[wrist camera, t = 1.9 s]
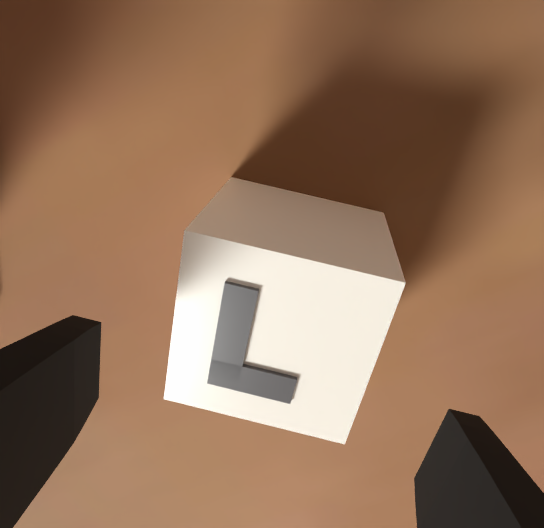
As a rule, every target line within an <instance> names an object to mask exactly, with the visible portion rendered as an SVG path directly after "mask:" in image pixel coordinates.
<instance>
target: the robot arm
mask: <svg viewBox="0 0 544 528" xmlns="http://www.w3.org/2000/svg"><path fill="white" fill-rule="evenodd" d="M100 342H101V322H98V321H94V320H90V319H86V318H82V317H78V316H74V315H72V316H70V317H68V318H65V319H63V320H61V321H58V322H56V323H54V324H52V325H50V326H48V327H46V328H44V329H41V330H39V331H37V332H35V333H33V334H31V335H29V336H27V337H25V338H23V339H21V340H19V341H17V342H14V343H12V344H10V345H8V346H6V347H4V348H2V349H0V528H13V527H14V525H15V524H16V523H17V521H18V520H19V518H20V517H21V516H22V514H23V513H24V512H25V510H26V509H27V507H28V506H29V505H30V503H31V502H32V500H33V499H34V498H35V496H36V495H37V494H38V492H39V491H40V489H41V488H42V487H43V485H44V484H45V482H46V481H47V480H48V478H49V477H50V476H51V474H52V473H53V471H54V470H55V468H56V467H57V466H58V464H59V463H60V461H61V460H62V459H63V457H64V456H65V454H66V453H67V452H68V450H69V449H70V447H71V446H72V444H73V443H74V441H75V440H76V438H77V436H78V434H79V433H80V431H81V429H82V427H83V426H84V424H85V422H86V420H87V418H88V417H89V415H90V413H91V411H92V409H93V407H94V405H95V403H96V402H97V400H98V398H99V371H100ZM414 482H415V502H416V517H417V528H544V493H543V492H542V491H541V489H540V488H539V487H538V486H537V485H536V483H535V482H534V481H533V480H532V478H531V477H530V476H529V475H528V474H527V472H526V471H525V470H524V469H523V467H522V466H521V465H520V464H519V463H518V461H517V460H516V459H515V458H514V456H513V455H512V454H511V453H510V452H509V450H508V449H507V448H506V447H505V446H504V444H503V443H502V442H501V441H500V439H499V438H498V437H497V436H496V435H495V433H494V432H493V431H492V430H491V429H490V428H489V426H488V425H487V424H486V423H485V422H484V421H483V420H482V419H481V418H480V416H476V415H472V414H468V413H464V412H460V411H456V410H452V409H449V410H448V412H447V414H446V416H445V418H444V420H443V422H442V424H441V426H440V428H439V430H438V432H437V434H436V436H435V438H434V440H433V442H432V444H431V446H430V448H429V450H428V452H427V454H426V456H425V458H424V460H423V462H422V464H421V466H420V468H419V470H418V472H417V474H416V476H415V478H414Z"/></svg>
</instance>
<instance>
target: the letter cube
mask: <svg viewBox="0 0 544 528" xmlns="http://www.w3.org/2000/svg"><path fill="white" fill-rule="evenodd" d="M405 283H406V282H405V279H404V276H403V272H402V269H401V266H400V263H399V260H398V256H397V253H396V250H395V247H394V244H393V240H392V237H391V234H390V231H389V228H388V224H387V221H386V218H385V215H384V213H383V212H379V211H375V210H370V209H366V208H362V207H358V206H353V205H349V204H345V203H340V202H336V201H332V200H328V199H323V198H319V197H315V196H310V195H306V194H302V193H298V192H293V191H289V190H285V189H280V188H276V187H272V186H268V185H263V184H259V183H255V182H250V181H246V180H242V179H238V178H233V177H231V178H230V179H229V180H228V181H227V182H226V183H225V184H224V186H223V187H222V188H221V189H220V190H219V191H218V192H217V194H216V195H215V196H214V197H213V198H212V199H211V200H210V202H209V203H208V204H207V205H206V206H205V207H204V208H203V210H202V211H201V212H200V213H199V214H198V215H197V216H196V218H195V219H194V220H193V221H192V222H191V223H190V224H189V226H188V227H187V228H186V229H185V230H184V238H183V246H182V254H181V262H180V271H179V279H178V287H177V295H176V303H175V312H174V320H173V328H172V336H171V344H170V353H169V361H168V369H167V377H166V385H165V394H164V399H166V400H170V401H174V402H178V403H182V404H186V405H190V406H194V407H198V408H202V409H206V410H210V411H214V412H218V413H222V414H226V415H230V416H234V417H238V418H242V419H246V420H250V421H254V422H258V423H262V424H266V425H270V426H274V427H277V428H281V429H285V430H289V431H293V432H297V433H301V434H305V435H309V436H313V437H317V438H321V439H325V440H329V441H333V442H337V443H341V444H345V442H346V440H347V437H348V434H349V432H350V429H351V426H352V424H353V421H354V418H355V416H356V413H357V410H358V408H359V405H360V402H361V400H362V397H363V395H364V392H365V389H366V387H367V384H368V381H369V379H370V376H371V373H372V371H373V368H374V365H375V363H376V360H377V358H378V355H379V352H380V350H381V347H382V344H383V342H384V339H385V336H386V334H387V331H388V328H389V326H390V323H391V321H392V318H393V315H394V313H395V310H396V307H397V305H398V302H399V299H400V297H401V294H402V291H403V289H404V286H405Z"/></svg>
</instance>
